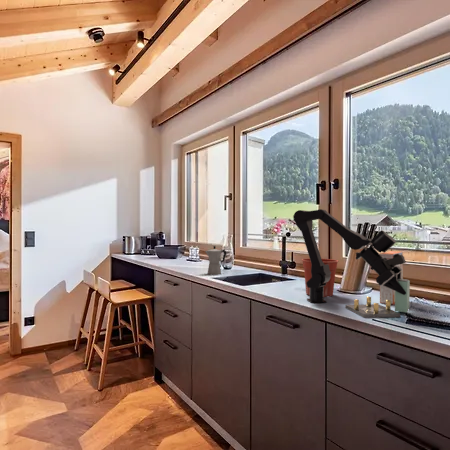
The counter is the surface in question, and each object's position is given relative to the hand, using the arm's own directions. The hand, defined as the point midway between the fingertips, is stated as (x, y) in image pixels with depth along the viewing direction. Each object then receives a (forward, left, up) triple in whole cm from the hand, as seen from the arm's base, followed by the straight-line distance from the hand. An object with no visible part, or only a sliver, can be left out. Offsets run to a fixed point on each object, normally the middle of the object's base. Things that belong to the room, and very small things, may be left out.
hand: (406, 293), depth 135 cm
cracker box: (-21, +6, -8) cm, 23 cm away
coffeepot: (-113, -61, -8) cm, 128 cm away
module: (-1, -1, -7) cm, 7 cm away
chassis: (-3, -12, -7) cm, 14 cm away
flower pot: (-38, -19, -8) cm, 43 cm away
